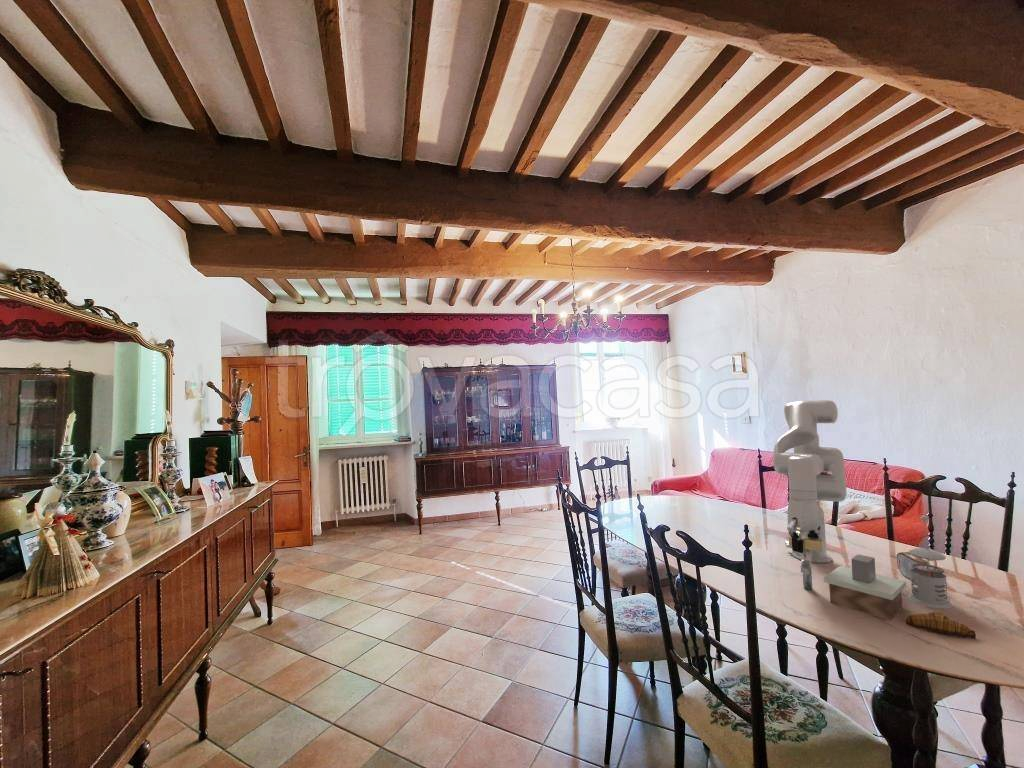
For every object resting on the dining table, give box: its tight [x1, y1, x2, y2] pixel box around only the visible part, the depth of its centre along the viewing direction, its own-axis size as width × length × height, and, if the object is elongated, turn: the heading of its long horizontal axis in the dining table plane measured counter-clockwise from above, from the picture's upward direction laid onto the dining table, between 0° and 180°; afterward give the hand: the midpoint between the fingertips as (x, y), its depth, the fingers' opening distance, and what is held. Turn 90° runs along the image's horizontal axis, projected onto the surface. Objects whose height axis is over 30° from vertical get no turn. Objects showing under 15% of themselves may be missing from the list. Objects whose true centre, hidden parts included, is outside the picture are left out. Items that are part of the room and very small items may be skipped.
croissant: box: [904, 611, 977, 639], centre depth 116 cm, size 14×7×5 cm, turn 54°
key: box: [788, 535, 823, 590], centre depth 140 cm, size 10×9×16 cm
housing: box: [828, 583, 903, 621], centre depth 131 cm, size 14×12×6 cm
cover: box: [823, 553, 907, 600], centre depth 131 cm, size 16×14×8 cm
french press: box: [907, 515, 953, 609], centre depth 133 cm, size 10×12×25 cm
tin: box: [895, 551, 933, 583], centre depth 146 cm, size 15×3×8 cm, turn 168°
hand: (805, 549), depth 143 cm, fingers open, 8 cm apart
